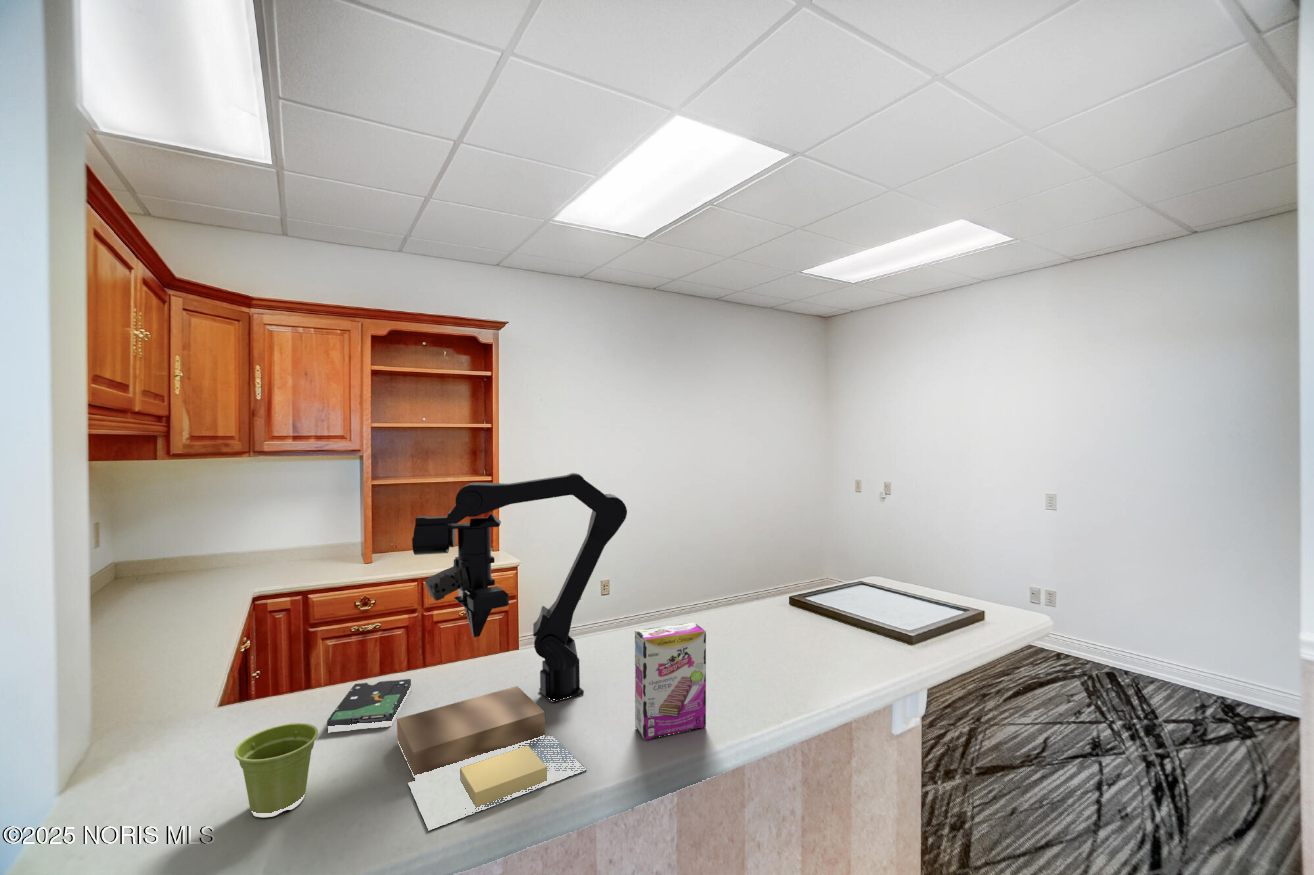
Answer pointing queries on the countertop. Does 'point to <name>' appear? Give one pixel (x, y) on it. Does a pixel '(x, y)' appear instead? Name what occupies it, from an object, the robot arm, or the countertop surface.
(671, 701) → the candy bar box
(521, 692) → the deck
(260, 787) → the plant pot
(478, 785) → the block
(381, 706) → the disk drive
